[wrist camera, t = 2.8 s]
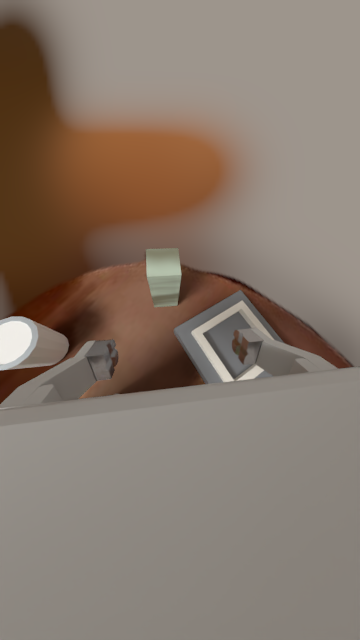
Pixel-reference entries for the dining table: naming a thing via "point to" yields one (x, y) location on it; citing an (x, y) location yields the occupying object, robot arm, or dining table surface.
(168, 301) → the green block
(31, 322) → the white cup
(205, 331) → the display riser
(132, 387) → the dining table surface
